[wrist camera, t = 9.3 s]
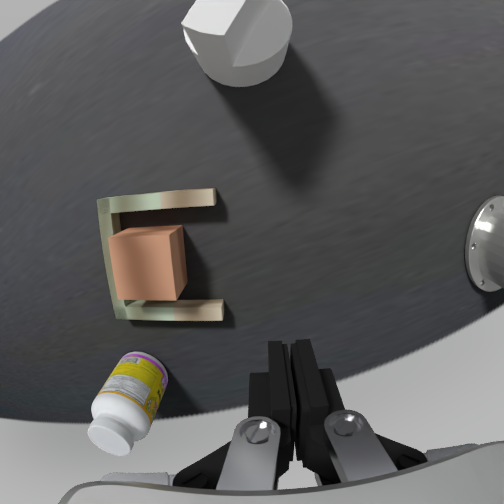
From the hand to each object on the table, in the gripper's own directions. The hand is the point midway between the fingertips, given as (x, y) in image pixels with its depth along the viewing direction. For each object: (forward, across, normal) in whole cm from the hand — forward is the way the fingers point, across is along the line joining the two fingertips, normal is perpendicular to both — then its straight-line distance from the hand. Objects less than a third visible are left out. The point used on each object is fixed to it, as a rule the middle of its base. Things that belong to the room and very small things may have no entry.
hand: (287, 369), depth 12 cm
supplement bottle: (+19, +16, +15) cm, 29 cm away
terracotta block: (+19, +12, 0) cm, 23 cm away
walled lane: (+19, +11, 0) cm, 22 cm away
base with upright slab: (+19, +2, -21) cm, 29 cm away
